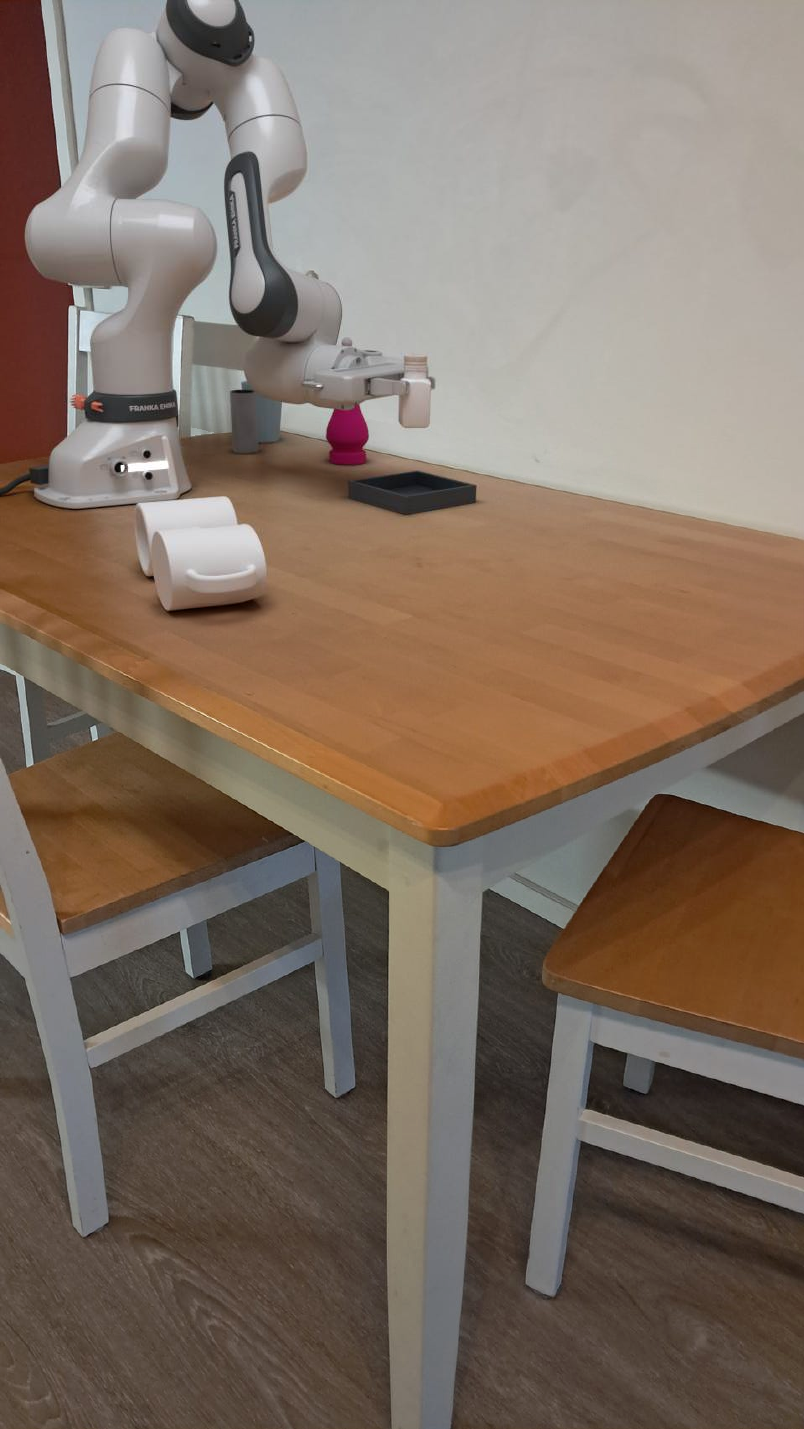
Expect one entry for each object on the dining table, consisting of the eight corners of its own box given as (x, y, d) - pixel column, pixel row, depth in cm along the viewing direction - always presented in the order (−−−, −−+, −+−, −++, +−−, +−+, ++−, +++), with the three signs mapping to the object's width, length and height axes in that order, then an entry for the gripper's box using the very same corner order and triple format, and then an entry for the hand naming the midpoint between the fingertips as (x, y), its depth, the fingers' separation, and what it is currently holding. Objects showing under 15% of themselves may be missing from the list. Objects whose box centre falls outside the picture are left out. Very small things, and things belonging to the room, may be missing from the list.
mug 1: (242, 575, 119) (238, 504, 115) (152, 585, 115) (146, 511, 112) (213, 549, 129) (209, 482, 125) (130, 557, 125) (123, 489, 122)
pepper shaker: (425, 423, 151) (427, 353, 147) (430, 428, 148) (432, 356, 144) (397, 423, 151) (399, 353, 147) (401, 428, 147) (403, 356, 143)
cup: (251, 444, 194) (248, 385, 190) (238, 438, 201) (235, 380, 196) (290, 442, 197) (289, 383, 193) (276, 436, 204) (274, 379, 200)
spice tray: (405, 514, 146) (405, 496, 145) (348, 497, 155) (347, 480, 154) (475, 502, 154) (476, 485, 153) (417, 486, 163) (417, 470, 162)
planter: (227, 452, 187) (224, 391, 183) (242, 448, 191) (239, 388, 187) (249, 454, 185) (246, 393, 181) (263, 450, 189) (261, 390, 185)
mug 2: (152, 596, 111) (146, 520, 108) (239, 585, 115) (235, 512, 112) (183, 631, 101) (177, 549, 98) (276, 618, 105) (273, 539, 102)
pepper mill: (367, 466, 177) (368, 339, 169) (324, 465, 178) (322, 338, 169) (369, 458, 184) (370, 335, 176) (328, 457, 184) (326, 335, 176)
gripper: (293, 360, 144) (376, 368, 137) (380, 349, 160) (459, 356, 153) (294, 408, 147) (376, 418, 140) (379, 393, 162) (457, 401, 155)
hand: (420, 386), depth 146 cm, fingers closed on pepper shaker, 5 cm apart
